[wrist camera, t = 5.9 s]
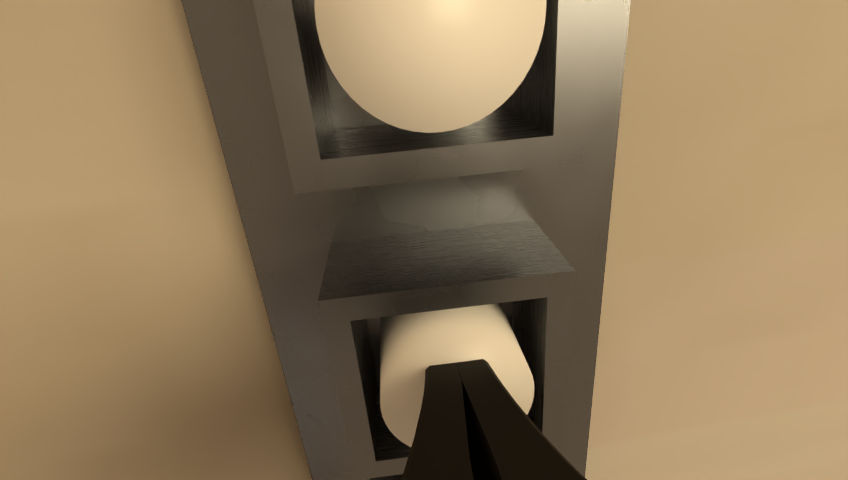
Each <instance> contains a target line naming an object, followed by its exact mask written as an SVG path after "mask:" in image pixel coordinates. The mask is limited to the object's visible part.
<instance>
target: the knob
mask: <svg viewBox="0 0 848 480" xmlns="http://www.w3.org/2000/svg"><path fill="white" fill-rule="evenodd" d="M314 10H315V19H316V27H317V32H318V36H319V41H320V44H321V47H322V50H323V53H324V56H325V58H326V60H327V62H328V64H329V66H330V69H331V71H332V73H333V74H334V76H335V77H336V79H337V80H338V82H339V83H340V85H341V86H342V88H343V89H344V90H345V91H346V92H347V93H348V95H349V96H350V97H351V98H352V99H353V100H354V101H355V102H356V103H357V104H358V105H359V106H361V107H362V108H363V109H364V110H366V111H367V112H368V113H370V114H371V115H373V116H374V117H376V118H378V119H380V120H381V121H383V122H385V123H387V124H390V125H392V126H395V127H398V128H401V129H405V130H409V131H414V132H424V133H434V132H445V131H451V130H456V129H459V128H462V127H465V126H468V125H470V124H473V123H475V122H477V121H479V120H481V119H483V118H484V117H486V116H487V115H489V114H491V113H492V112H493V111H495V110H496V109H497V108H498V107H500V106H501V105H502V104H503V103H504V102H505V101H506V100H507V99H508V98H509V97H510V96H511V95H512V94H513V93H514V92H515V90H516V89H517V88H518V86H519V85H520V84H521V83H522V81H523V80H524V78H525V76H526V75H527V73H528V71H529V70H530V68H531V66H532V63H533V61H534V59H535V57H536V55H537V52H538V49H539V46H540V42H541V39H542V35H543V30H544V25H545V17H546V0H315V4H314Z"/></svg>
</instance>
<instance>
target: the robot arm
mask: <svg viewBox="0 0 848 480" xmlns="http://www.w3.org/2000/svg"><path fill="white" fill-rule="evenodd" d="M401 480H587V479H586V478H585V477H584V476H583V475H582V474H581V473H580V472H579V471H578V470H577V469H575V468H574V467H573V466H572V465H571V463H570V462H569V461H568V460H567V459H566V458H565V457H564V456H563V455H562V454H561V453H560V452H559V451H558V450H557V449H556V448H555V447H554V446H553V445H552V443H551V442H550V441H549V440H548V439H547V438H546V437H545V436H544V435H543V434H542V432H541V431H540V430H539V429H538V428H537V427H536V426H535V424H534V423H533V422H532V421H531V420H530V418H529V417H528V416H527V415H526V413H525V412H524V411H523V410H522V409H521V407H520V406H519V405H518V404H517V402H516V401H515V400H514V399H513V397H512V396H511V395H510V393H509V392H508V391H507V389H506V388H505V387H504V385H503V384H502V382H501V381H500V380H499V378H498V377H497V375H496V374H495V372H494V371H493V369H492V368H491V366H490V365H489V363H488V362H487V361H486V360H484V359H479V360H472V361H464V362H457V363H448V364H440V365H431V366H429V367H428V368H427V369H426V370H425V386H424V394H423V400H422V405H421V410H420V415H419V419H418V423H417V428H416V432H415V436H414V440H413V443H412V446H411V450H410V453H409V456H408V459H407V463H406V466H405V469H404V472H403V475H402V478H401Z"/></svg>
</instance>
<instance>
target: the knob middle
mask: <svg viewBox="0 0 848 480" xmlns="http://www.w3.org/2000/svg"><path fill="white" fill-rule="evenodd" d="M479 359H484V360H486V361H487V362H488V363H489V365H490V366H491V368H492V369H493V371H494V372H495V374H496V375H497V377H498V378H499V380H500V381H501V382H502V384H503V385H504V387H505V388H506V389H507V391H508V392H509V393H510V395H511V396H512V397H513V399H514V400H515V401H516V402H517V404H518V405H519V406H520V407H521V409H522V410H523V411H524V412H525V413H526V415H527V414H528V412H529V410H530V408H531V406H532V402H533V398H534V380H533V376H532V373H531V371H530V369H529V366H528V364H527V362H526V360H525V357H524V355H523V353H522V351H521V348H520V346H519V344H518V342H517V339H516V337H515V335H514V333H513V330H512V328H511V326H510V324H509V321H508V319H507V317H506V315H505V312H504V310H503V308H502V306H501V303H496V304H487V305H479V306H471V307H462V308H454V309H446V310H437V311H429V312H421V313H412V314H404V315H395V316H387V317H380V407H381V413H382V417H383V419H384V422H385V424H386V425H387V427H388V429H389V430H390V431H391V432H392V434H393V435H394V436H395V437H396V438H398V439H399V440H400V441H401V442H403V443H404V444H406V445H408V446H409V447H411V446H412V443H413V440H414V436H415V432H416V428H417V423H418V419H419V415H420V410H421V405H422V400H423V394H424V386H425V370H426V369H427V368H428V367H429V366H431V365H440V364H448V363H457V362H464V361H472V360H479Z"/></svg>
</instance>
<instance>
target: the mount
mask: <svg viewBox="0 0 848 480" xmlns="http://www.w3.org/2000/svg"><path fill="white" fill-rule="evenodd" d="M181 1H182V4H183V8H184V11H185V15H186V19H187V22H188V26H189V30H190V33H191V37H192V41H193V44H194V48H195V52H196V55H197V59H198V63H199V66H200V70H201V74H202V77H203V81H204V84H205V88H206V92H207V95H208V99H209V103H210V106H211V110H212V114H213V117H214V121H215V125H216V128H217V132H218V136H219V139H220V143H221V146H222V150H223V154H224V157H225V161H226V165H227V168H228V172H229V176H230V179H231V183H232V187H233V190H234V194H235V198H236V201H237V205H238V208H239V212H240V216H241V219H242V223H243V227H244V230H245V234H246V238H247V241H248V245H249V249H250V252H251V256H252V260H253V263H254V267H255V271H256V274H257V278H258V281H259V285H260V289H261V292H262V296H263V300H264V303H265V307H266V311H267V314H268V318H269V322H270V325H271V329H272V333H273V336H274V340H275V343H276V347H277V351H278V354H279V358H280V362H281V365H282V369H283V373H284V376H285V380H286V384H287V387H288V391H289V395H290V398H291V402H292V405H293V409H294V413H295V416H296V420H297V424H298V427H299V431H300V435H301V438H302V442H303V446H304V449H305V453H306V457H307V460H308V464H309V467H310V471H311V475H312V478H313V480H401V478H402V475H403V472H404V469H405V466H406V463H407V459H408V456H409V453H410V450H411V447H409V446H408V445H406V444H404V443H403V442H401V441H400V440H399V439H398V438H396V437H395V436H394V435H393V434H392V432H391V431H390V430H389V429H388V427H387V425H386V424H385V422H384V419H383V417H382V413H381V407H380V317H387V316H395V315H404V314H412V313H421V312H429V311H437V310H446V309H454V308H462V307H471V306H479V305H487V304H496V303H501V306H502V308H503V310H504V312H505V315H506V317H507V319H508V321H509V324H510V326H511V328H512V330H513V333H514V335H515V337H516V339H517V342H518V344H519V346H520V348H521V351H522V353H523V355H524V357H525V360H526V362H527V364H528V366H529V369H530V371H531V373H532V376H533V380H534V398H533V402H532V406H531V408H530V410H529V412H528V414H527V416H528V417H529V418H530V420H531V421H532V422H533V423H534V424H535V426H536V427H537V428H538V429H539V430H540V431H541V432H542V434H543V435H544V436H545V437H546V438H547V439H548V440H549V441H550V442H551V443H552V445H553V446H554V447H555V448H556V449H557V450H558V451H559V452H560V453H561V454H562V455H563V456H564V457H565V458H566V459H567V460H568V461H569V462H570V463H571V465H572V466H573V467H574V468H575V469H577V470H578V471H579V472H580V473H581V474H582V475H583V476H584V477H585V469H586V459H587V448H588V438H589V427H590V417H591V407H592V396H593V386H594V376H595V365H596V355H597V345H598V334H599V324H600V313H601V303H602V293H603V282H604V272H605V262H606V251H607V241H608V231H609V220H610V210H611V199H612V189H613V179H614V168H615V158H616V148H617V137H618V127H619V117H620V106H621V96H622V85H623V75H624V65H625V54H626V44H627V34H628V23H629V13H630V3H631V0H546V17H545V25H544V30H543V35H542V39H541V42H540V46H539V49H538V52H537V55H536V57H535V59H534V61H533V63H532V66H531V68H530V70H529V71H528V73H527V75H526V76H525V78H524V80H523V81H522V83H521V84H520V85H519V86H518V88H517V89H516V90H515V92H514V93H513V94H512V95H511V96H510V97H509V98H508V99H507V100H506V101H505V102H504V103H503V104H502V105H501V106H500V107H498V108H497V109H496V110H495V111H493V112H492V113H491V114H489V115H487V116H486V117H484V118H483V119H481V120H479V121H477V122H475V123H473V124H470V125H468V126H465V127H462V128H459V129H456V130H451V131H445V132H434V133H424V132H414V131H409V130H405V129H401V128H398V127H395V126H392V125H390V124H387V123H385V122H383V121H381V120H380V119H378V118H376V117H374V116H373V115H371V114H370V113H368V112H367V111H366V110H364V109H363V108H362V107H361V106H359V105H358V104H357V103H356V102H355V101H354V100H353V99H352V98H351V97H350V96H349V95H348V93H347V92H346V91H345V90H344V89H343V88H342V86H341V85H340V83H339V82H338V80H337V79H336V77H335V76H334V74H333V73H332V71H331V69H330V66H329V64H328V62H327V60H326V58H325V56H324V53H323V50H322V47H321V44H320V41H319V36H318V32H317V27H316V19H315V10H314V4H315V0H181Z"/></svg>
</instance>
